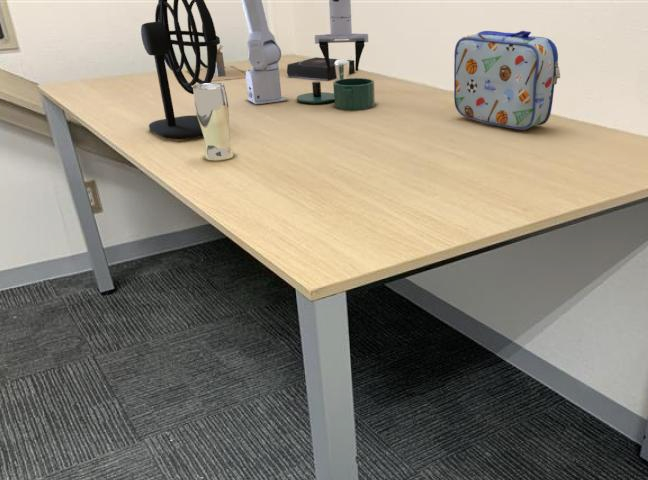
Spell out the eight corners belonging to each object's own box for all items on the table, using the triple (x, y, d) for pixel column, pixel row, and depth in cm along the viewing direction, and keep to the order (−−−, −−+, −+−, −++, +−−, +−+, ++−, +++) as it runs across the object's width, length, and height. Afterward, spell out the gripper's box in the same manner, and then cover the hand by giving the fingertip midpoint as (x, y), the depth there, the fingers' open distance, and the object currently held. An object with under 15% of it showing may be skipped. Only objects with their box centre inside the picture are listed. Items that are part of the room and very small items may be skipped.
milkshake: (352, 92, 205) (350, 57, 200) (335, 92, 206) (333, 57, 201) (353, 89, 209) (352, 54, 204) (337, 89, 210) (335, 55, 205)
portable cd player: (315, 69, 242) (314, 57, 240) (354, 72, 234) (354, 60, 232) (287, 76, 230) (286, 64, 228) (327, 80, 222) (326, 67, 220)
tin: (327, 111, 183) (326, 87, 180) (342, 99, 197) (341, 76, 194) (367, 112, 181) (366, 88, 178) (380, 99, 195) (379, 76, 192)
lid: (291, 104, 192) (289, 85, 190) (304, 95, 202) (302, 77, 200) (331, 105, 190) (330, 86, 188) (342, 96, 200) (341, 78, 198)
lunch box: (560, 128, 163) (572, 29, 151) (536, 137, 157) (545, 34, 145) (472, 111, 180) (476, 22, 168) (447, 118, 174) (449, 26, 162)
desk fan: (246, 135, 163) (226, -28, 145) (177, 148, 155) (146, -24, 136) (202, 115, 182) (179, -31, 164) (138, 126, 173) (106, -28, 155)
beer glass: (221, 150, 152) (211, 81, 144) (241, 155, 148) (232, 84, 140) (196, 157, 147) (184, 86, 140) (216, 163, 143) (205, 90, 136)
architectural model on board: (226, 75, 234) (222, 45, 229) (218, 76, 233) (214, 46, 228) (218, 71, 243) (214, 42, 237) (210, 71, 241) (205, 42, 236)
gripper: (313, 19, 175) (316, 74, 182) (368, 17, 176) (369, 72, 183) (313, 16, 181) (317, 69, 188) (366, 15, 182) (368, 68, 189)
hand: (343, 70), depth 186 cm, fingers open, 7 cm apart
